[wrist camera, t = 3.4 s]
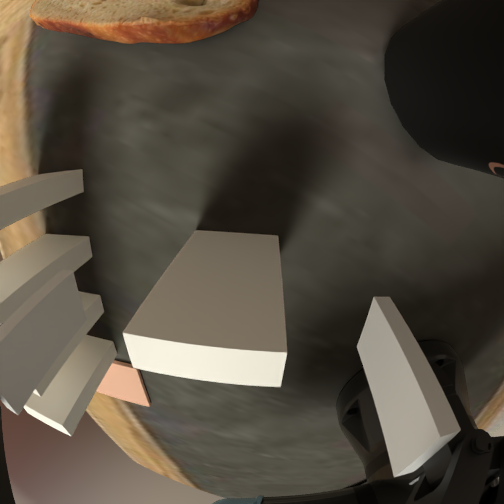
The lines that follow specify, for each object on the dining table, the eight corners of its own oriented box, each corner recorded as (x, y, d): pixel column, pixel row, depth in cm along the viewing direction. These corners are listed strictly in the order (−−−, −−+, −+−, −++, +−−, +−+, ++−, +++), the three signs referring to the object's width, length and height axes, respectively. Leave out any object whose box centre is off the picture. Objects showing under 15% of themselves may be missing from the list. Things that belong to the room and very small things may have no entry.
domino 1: (38, 174, 17) (-62, 212, 7) (82, 169, 17) (-34, 209, 7) (39, 194, 18) (-56, 240, 8) (83, 191, 18) (-27, 245, 8)
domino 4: (72, 330, 24) (18, 400, 14) (113, 341, 24) (62, 425, 13) (76, 343, 24) (27, 412, 14) (117, 354, 24) (71, 436, 14)
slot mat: (66, 345, 25) (64, 348, 24) (138, 365, 25) (136, 369, 24) (84, 384, 28) (82, 386, 27) (151, 403, 27) (149, 406, 27)
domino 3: (57, 287, 22) (-12, 355, 11) (100, 295, 21) (29, 379, 11) (62, 302, 22) (-2, 371, 12) (104, 311, 22) (41, 397, 12)
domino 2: (45, 233, 19) (-41, 292, 9) (89, 236, 19) (-6, 309, 9) (49, 252, 20) (-32, 314, 10) (92, 256, 20) (5, 335, 10)
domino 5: (195, 230, 19) (122, 332, 8) (278, 235, 18) (287, 352, 8) (196, 254, 19) (133, 367, 9) (275, 260, 19) (280, 387, 9)
